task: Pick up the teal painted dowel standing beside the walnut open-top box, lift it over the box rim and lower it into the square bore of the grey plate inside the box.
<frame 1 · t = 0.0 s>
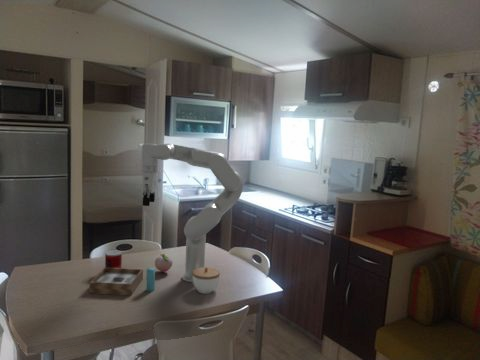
hand: (148, 203, 190), 37 cm above the table, tool pointing down, fingers open, 9 cm apart
bore box: (117, 285, 181), on the table
peg: (150, 289, 178), on the table
decorative fruit: (162, 272, 200), on the table
canned food: (113, 273, 196), on the table
lidded bowl: (205, 290, 181), on the table
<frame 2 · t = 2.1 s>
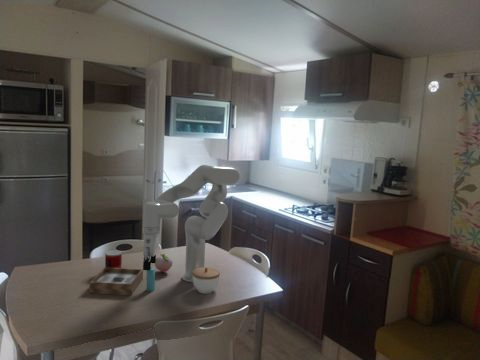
hand: (149, 266, 176), 11 cm above the table, tool pointing down, fingers open, 9 cm apart
nothing on the table moved.
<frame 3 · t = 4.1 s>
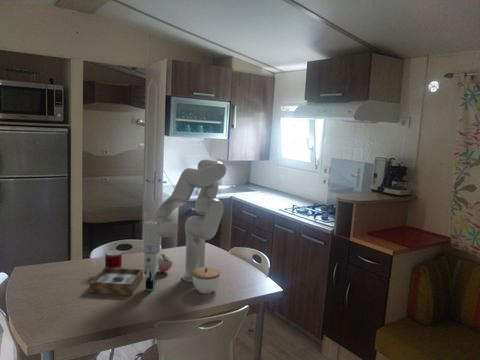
hand: (150, 286, 178), 2 cm above the table, tool pointing down, fingers closed on peg, 3 cm apart
peg: (150, 289, 178), on the table, touching gripper
everything else where it was.
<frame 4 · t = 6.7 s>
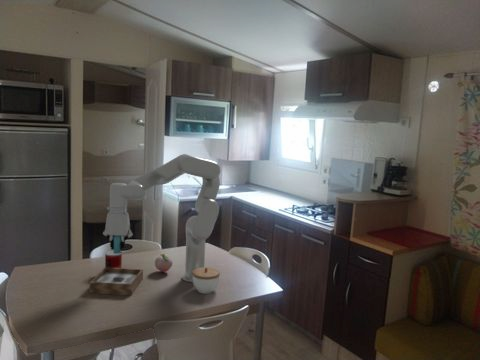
hand: (117, 248, 179), 18 cm above the table, tool pointing down, fingers closed on peg, 3 cm apart
peg: (117, 252, 179), point 16 cm above the table, touching gripper
everything else where it was.
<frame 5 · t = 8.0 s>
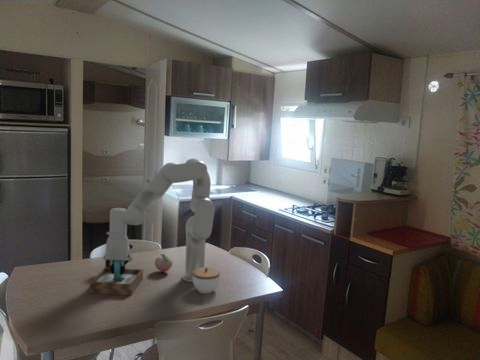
hand: (117, 272, 180), 6 cm above the table, tool pointing down, fingers closed on peg, 3 cm apart
peg: (117, 276, 180), point 5 cm above the table, touching gripper
everything else where it was.
when the fingers open (4 cm above the table, at t = 9.2 s): peg drops 2 cm, resting in bore box.
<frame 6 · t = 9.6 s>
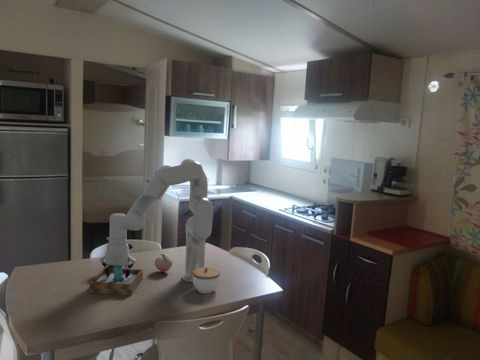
hand: (117, 276, 181), 5 cm above the table, tool pointing down, fingers open, 8 cm apart
peg: (117, 285, 181), resting in bore box
everything else where it was.
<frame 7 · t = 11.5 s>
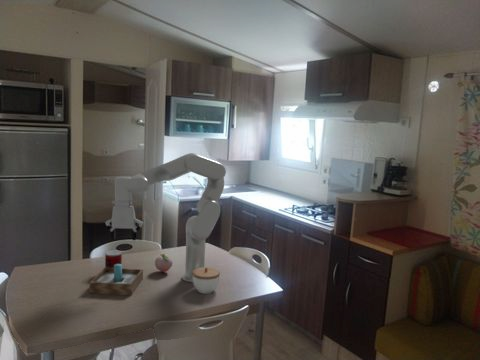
hand: (124, 239, 181), 22 cm above the table, tool pointing down, fingers open, 9 cm apart
nothing on the table moved.
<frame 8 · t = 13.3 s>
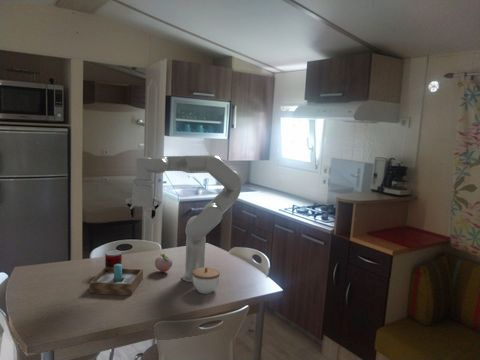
hand: (143, 217, 189), 30 cm above the table, tool pointing down, fingers open, 9 cm apart
nothing on the table moved.
at the end: peg 0.1 cm off-centre on the bore box, point 0.0 cm above the bore box's base; peg tilted 0°; the gripper is holding nothing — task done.
